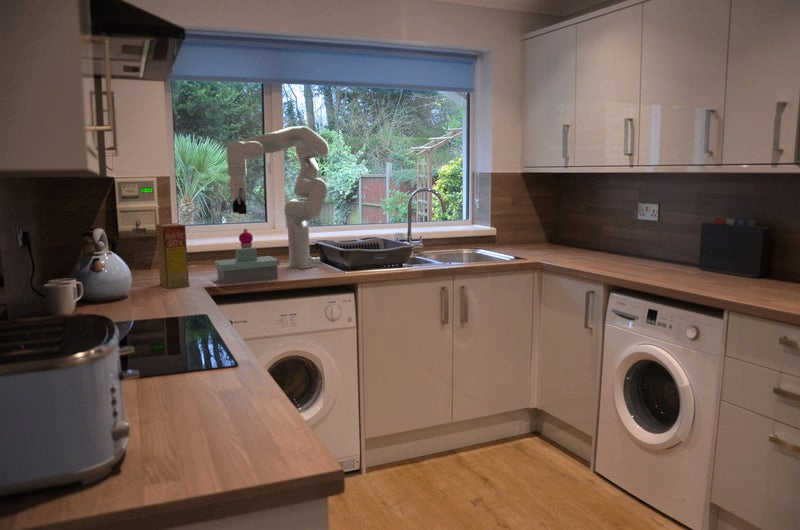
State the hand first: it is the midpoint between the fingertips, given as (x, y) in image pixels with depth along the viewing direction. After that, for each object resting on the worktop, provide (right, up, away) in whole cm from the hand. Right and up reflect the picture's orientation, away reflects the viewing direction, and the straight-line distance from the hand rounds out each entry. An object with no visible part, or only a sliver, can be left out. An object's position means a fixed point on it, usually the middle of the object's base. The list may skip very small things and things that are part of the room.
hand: (239, 213), depth 268 cm
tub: (+3, -28, 0) cm, 29 cm away
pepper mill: (-1, -26, +19) cm, 32 cm away
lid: (+3, -22, -1) cm, 22 cm away
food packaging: (-25, -30, -5) cm, 40 cm away
